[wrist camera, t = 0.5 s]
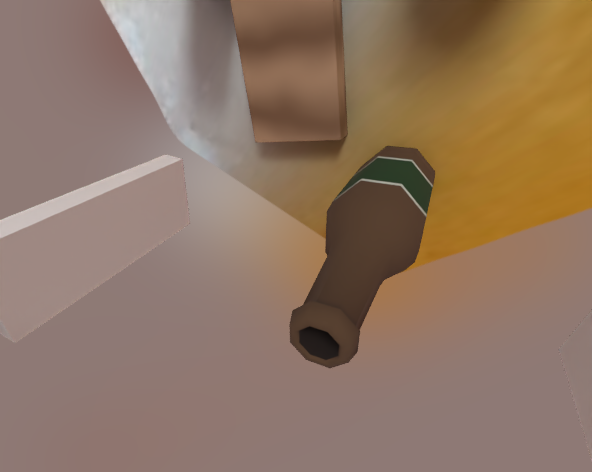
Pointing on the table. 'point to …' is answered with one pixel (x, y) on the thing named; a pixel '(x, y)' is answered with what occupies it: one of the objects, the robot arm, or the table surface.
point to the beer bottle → (363, 251)
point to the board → (293, 68)
